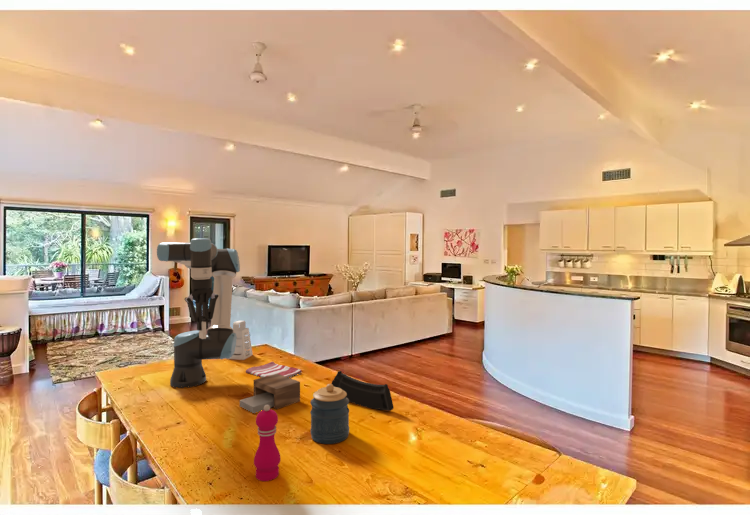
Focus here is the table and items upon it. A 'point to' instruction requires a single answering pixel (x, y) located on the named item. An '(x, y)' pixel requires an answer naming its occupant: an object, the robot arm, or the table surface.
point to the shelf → (279, 389)
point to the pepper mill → (267, 446)
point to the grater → (241, 341)
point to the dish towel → (273, 370)
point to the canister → (329, 415)
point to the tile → (257, 402)
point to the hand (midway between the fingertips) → (202, 338)
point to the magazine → (364, 392)
